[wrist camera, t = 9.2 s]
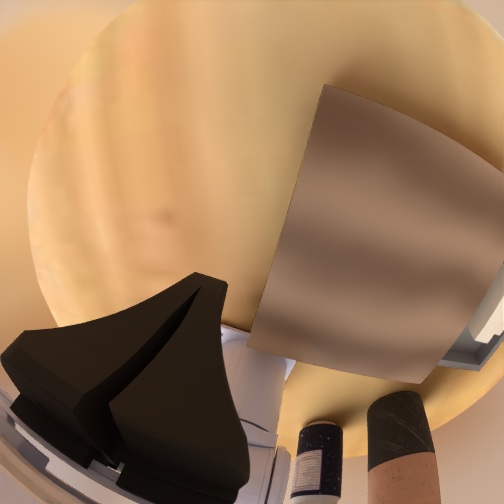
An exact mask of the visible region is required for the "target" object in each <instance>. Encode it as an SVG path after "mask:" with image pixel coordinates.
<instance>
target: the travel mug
mask: <svg viewBox="0 0 504 504" xmlns="http://www.w3.org/2000/svg"><path fill="white" fill-rule="evenodd" d="M367 427H368V504H441V499H440V486H439V477H438V469H437V462H436V455H435V450H434V446H433V441H432V437H431V432H430V428H429V424H428V421H427V417H426V413H425V409H424V406H423V403H422V400H421V397H420V395H419V394H417V393H415V392H412V391H402V392H397V393H393V394H390V395H387V396H385V397H383V398H381V399H379V400H377V401H376V402H375V403H374V404H372V405H371V407H370V408H369V410H368V413H367Z"/></svg>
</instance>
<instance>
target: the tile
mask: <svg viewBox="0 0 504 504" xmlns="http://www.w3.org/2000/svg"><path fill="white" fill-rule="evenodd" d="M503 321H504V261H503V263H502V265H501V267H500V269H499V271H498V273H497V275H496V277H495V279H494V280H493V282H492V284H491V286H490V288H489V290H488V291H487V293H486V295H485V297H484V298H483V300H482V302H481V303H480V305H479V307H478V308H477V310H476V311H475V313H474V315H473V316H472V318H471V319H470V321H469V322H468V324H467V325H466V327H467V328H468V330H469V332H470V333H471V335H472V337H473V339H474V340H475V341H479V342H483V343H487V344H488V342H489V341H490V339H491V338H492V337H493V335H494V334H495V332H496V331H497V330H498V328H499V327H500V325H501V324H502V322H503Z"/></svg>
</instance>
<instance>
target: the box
mask: <svg viewBox="0 0 504 504" xmlns="http://www.w3.org/2000/svg"><path fill="white" fill-rule="evenodd" d="M503 340H504V330H503V332H502V333H501V335H496V334H494V335H493V337H492V338H491V339H490V341H489V342H488V344H487V343H483V342H479V341H475V340H474V339H473V337H472V335H471V333H470V332H469V330H468V328H467V327H465V328H464V330H463V331H462V332H461V334H460V335H459V337H458V338H457V339H456V341H455V342H454V344H453V345H452V346H451V348H450V349H449V350H448V352H447V353H446V354H445V355H444V357H443V358H442V359H441V360H440V362H439V363H438V364H437V365H438V366H444V367H451V368H458V369H466V370H474V371H480V369H481V368H482V367H483V366H484V365H485V363H486V362H487V361H488V360H489V358H490V357H491V356H492V355H493V353H494V352H495V351H496V349H497V348H498V347H499V345H500V344H501V343H502V341H503Z"/></svg>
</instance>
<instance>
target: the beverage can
mask: <svg viewBox="0 0 504 504" xmlns="http://www.w3.org/2000/svg"><path fill="white" fill-rule="evenodd" d="M342 458H343V430H342V429H341V428H340V427H339V426H337V425H336V424H335V423H333V422H330V421H316V422H312V423H310V424H308V425H307V426H306V427H304V428H303V429H302V430H301V431H300V433H299V441H298V449H297V457H296V465H295V472H294V478H293V485H292V492H291V501H292V503H293V504H337V502H338V501H339V499H340V497H341V483H342Z"/></svg>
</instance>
